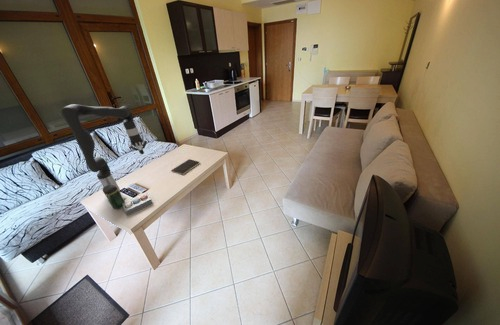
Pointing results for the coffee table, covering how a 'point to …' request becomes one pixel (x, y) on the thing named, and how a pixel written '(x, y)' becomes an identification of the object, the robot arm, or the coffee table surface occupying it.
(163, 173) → the coffee table surface
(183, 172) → the hardcover book
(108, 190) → the coffee jar
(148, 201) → the console
